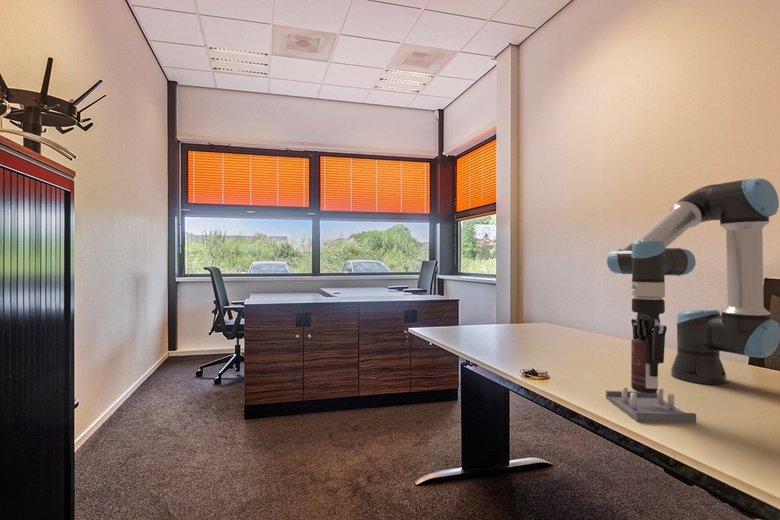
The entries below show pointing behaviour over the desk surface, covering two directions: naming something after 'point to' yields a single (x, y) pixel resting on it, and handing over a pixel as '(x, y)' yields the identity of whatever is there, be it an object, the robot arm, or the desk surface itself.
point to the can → (639, 366)
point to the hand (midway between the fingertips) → (647, 385)
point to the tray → (649, 406)
